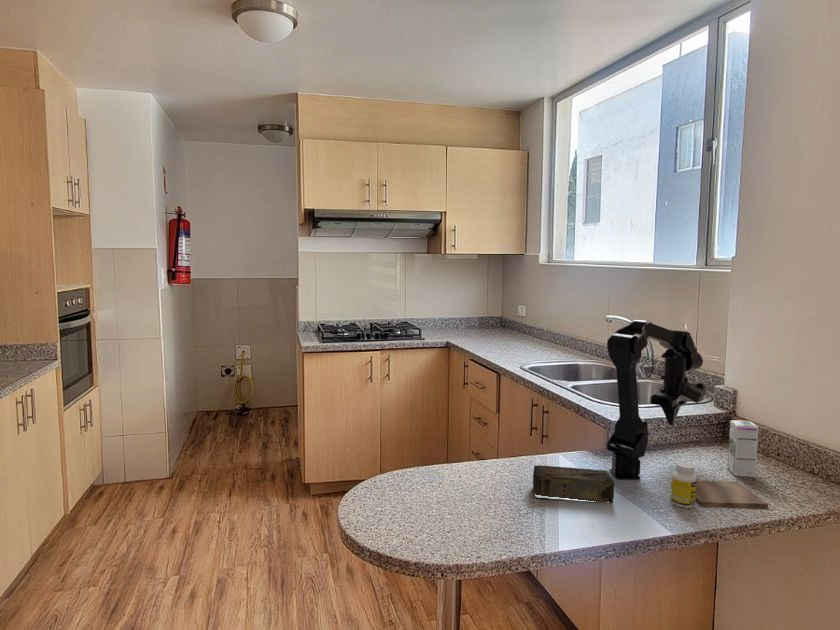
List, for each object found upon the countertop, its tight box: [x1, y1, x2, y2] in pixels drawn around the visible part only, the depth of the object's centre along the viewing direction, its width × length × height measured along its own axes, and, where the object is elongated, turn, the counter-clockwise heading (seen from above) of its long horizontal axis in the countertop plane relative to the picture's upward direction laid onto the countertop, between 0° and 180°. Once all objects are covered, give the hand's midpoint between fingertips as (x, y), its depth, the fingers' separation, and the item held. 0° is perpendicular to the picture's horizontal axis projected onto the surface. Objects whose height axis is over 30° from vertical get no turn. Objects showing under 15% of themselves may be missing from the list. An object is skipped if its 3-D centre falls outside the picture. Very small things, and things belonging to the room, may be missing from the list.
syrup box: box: [727, 419, 759, 478], centre depth 158 cm, size 6×6×14 cm
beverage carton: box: [532, 464, 615, 504], centre depth 141 cm, size 8×19×7 cm, turn 83°
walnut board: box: [695, 479, 769, 509], centre depth 143 cm, size 16×14×1 cm
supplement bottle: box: [670, 461, 698, 509], centre depth 137 cm, size 5×5×10 cm
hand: (671, 424), depth 167 cm, fingers closed
